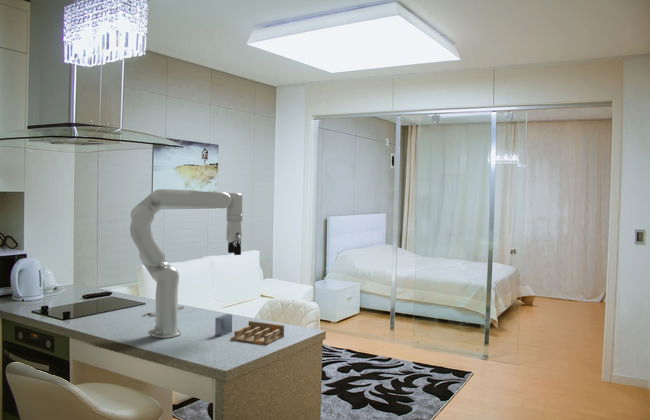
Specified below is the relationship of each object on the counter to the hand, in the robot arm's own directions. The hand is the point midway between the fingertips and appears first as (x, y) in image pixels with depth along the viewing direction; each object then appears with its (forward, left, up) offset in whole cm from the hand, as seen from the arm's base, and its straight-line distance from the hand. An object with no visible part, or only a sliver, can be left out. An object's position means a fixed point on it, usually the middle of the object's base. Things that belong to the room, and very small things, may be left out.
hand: (234, 253), depth 248 cm
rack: (-13, -21, -35) cm, 43 cm away
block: (-13, -3, -35) cm, 38 cm away
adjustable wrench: (+9, +49, -36) cm, 61 cm away
